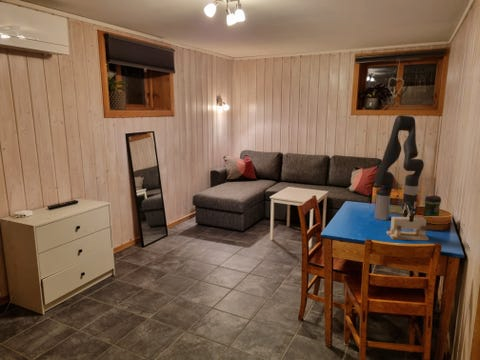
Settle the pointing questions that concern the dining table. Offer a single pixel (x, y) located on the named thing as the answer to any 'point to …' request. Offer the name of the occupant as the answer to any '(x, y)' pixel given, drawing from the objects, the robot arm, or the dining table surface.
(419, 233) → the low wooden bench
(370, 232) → the dining table surface
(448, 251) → the dining table surface
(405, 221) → the beige long block
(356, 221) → the dining table surface
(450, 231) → the dining table surface
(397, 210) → the decorative tile
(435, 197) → the coffee jar
